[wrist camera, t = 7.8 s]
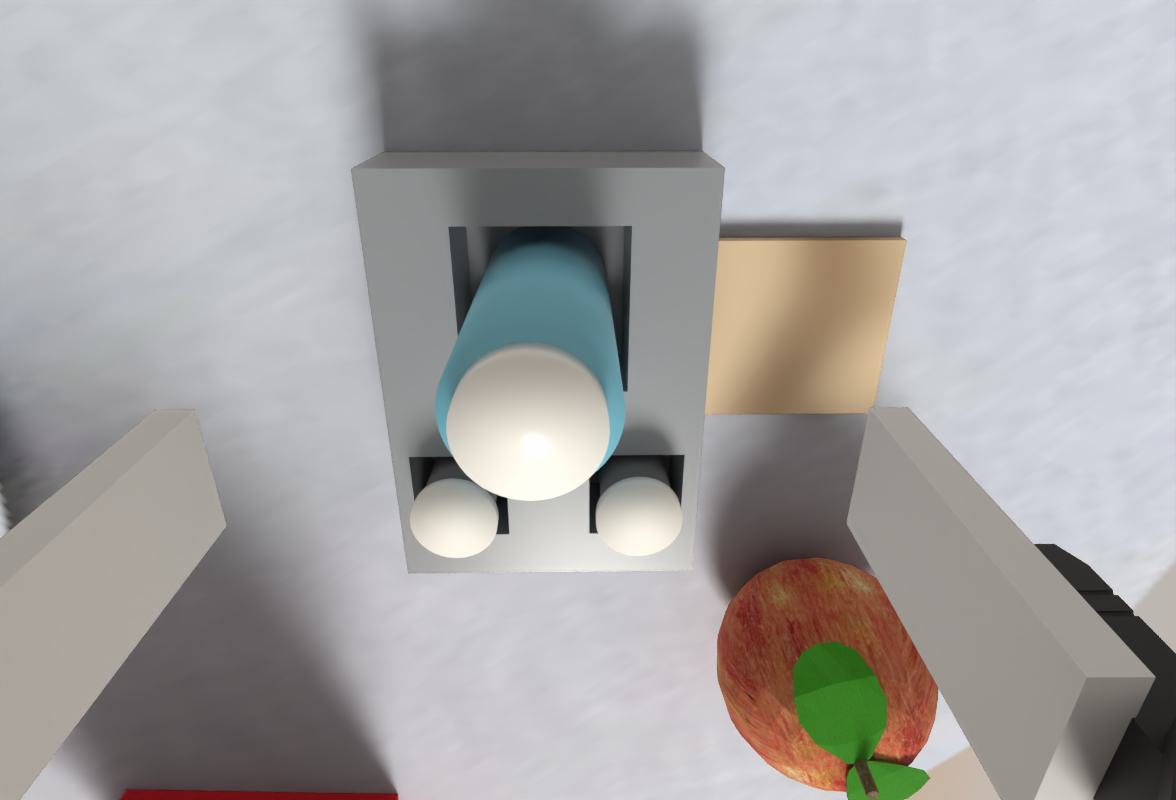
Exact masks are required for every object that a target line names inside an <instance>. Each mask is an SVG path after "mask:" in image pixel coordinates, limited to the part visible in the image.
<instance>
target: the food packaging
mask: <svg viewBox="0 0 1176 800" xmlns="http://www.w3.org/2000/svg"><path fill="white" fill-rule="evenodd" d="M119 800H398V794H355V793H296V792H238V791H180V790H125V791H124V792H123V794H122V796H121V797H120V799H119Z"/></svg>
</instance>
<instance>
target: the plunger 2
mask: <svg viewBox="0 0 1176 800" xmlns="http://www.w3.org/2000/svg"><path fill="white" fill-rule="evenodd" d="M599 483H600V499H599V501H598V503H597V506H596V527H597V531H598V534H599V536H600V538H601V539H602V540H603V542H604V543H605V544H606V545H607V546H608V547H610V548H611V549H613V550H615V551H616V552H619V553H621V554H625V555H630V556H645V555H650V554H654V553H656V552H659V551H661V550H663V549H665V548H666V547H667V546H669V545H670V544H671V543H672V542H673V541H674V540H675V539H676V537H677V536H678V534H679V532H680V530H681V527H682V521H683V516H682V511H681V506H680V502H679V499H678V497H677V495H676V494H675V493H674V491H673V490H672V489H671V488H670V483H669V479H668V474H667V470H666V465H665V461H664V456H663V455H611V456H610V458H609V459H608V460H607V461H606V463H605V464H604V465H603V466H602V467H601V468H600V469H599Z"/></svg>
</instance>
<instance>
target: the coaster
mask: <svg viewBox="0 0 1176 800" xmlns="http://www.w3.org/2000/svg"><path fill="white" fill-rule="evenodd" d="M906 241H907V240H905V239H904V238H902V237H781V238H719V245H718V258H717V270H716V282H715V295H714V307H713V319H712V332H711V344H710V356H709V369H708V381H707V393H706V406H705V415H709V414H838V413H868V411H869V408H874V403H875V398H876V393H877V388H878V383H879V378H880V373H881V368H882V362H883V357H884V352H885V347H886V342H887V337H888V332H889V327H890V322H891V317H892V312H893V307H894V302H895V297H896V292H897V287H898V282H899V277H900V271H901V266H902V261H903V256H904V251H905V246H906Z"/></svg>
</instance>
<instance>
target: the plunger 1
mask: <svg viewBox="0 0 1176 800" xmlns="http://www.w3.org/2000/svg"><path fill="white" fill-rule="evenodd" d="M496 499H497V494H494V493H492V492H490V491H488V490H486V489H484V488H482V487H481V486H479V485H478V484H477V483H475V482H474V481H473V480H472V479H470V478H469V477H468V476H467V475H466V474H465V473H464V471H463V470H462V469H461V468H460V466H459V465H458V464H457V462H456V461H455V459H454V457H436V459H435V462H434V465H433V468H432V470H431V473H430V476H429V479H428V482H427V485H426V487H425V488H424V489H423V490H422V491H421V492H420V493H419V494H418V496H417V497H416V499H415V502H414V504H413V507H412V510H411V514H410V526H411V530H412V532H413V534H414V536H415V538H416V539H417V540H418V542H419V543H420V544H421V545H422V546H424V547H425V548H426V549H428V550H429V551H431V552H433V553H435V554H437V555H440V556H444V557H449V558H464V557H469V556H473V555H475V554H478V553H480V552H481V551H483V550H484V549H486V548H487V547H488V546H489V545H490V544H491V542H492V541H493V539H494V537H495V535H496V532H497V526H498V520H499V512H498V508H497V505H496Z"/></svg>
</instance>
